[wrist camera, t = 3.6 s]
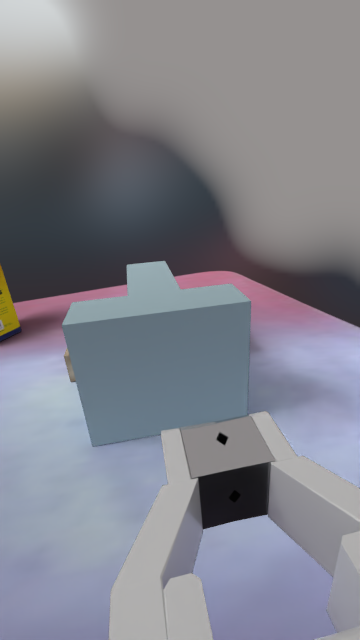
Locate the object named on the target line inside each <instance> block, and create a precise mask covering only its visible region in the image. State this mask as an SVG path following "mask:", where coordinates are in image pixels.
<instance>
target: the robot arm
mask: <svg viewBox="0 0 360 640" xmlns="http://www.w3.org/2000/svg"><path fill="white" fill-rule="evenodd" d="M161 439H162V446H163V453H164V460H165V466H166V473H167V480H168V484H167V485H162V487H161V489H160V491H159V493H158V495H157V497H156V499H155V501H154V503H153V505H152V507H151V509H150V511H149V513H148V515H147V518H146V520H145V522H144V524H143V526H142V528H141V530H140V532H139V534H138V536H137V538H136V540H135V542H134V544H133V546H132V548H131V550H130V552H129V554H128V556H127V558H126V560H125V562H124V564H123V566H122V568H121V570H120V572H119V574H118V577H117V579H116V581H115V583H114V585H113V587H112V589H111V595H110V619H109V640H213V636H212V631H211V627H210V622H209V617H208V612H207V607H206V602H205V597H204V592H203V587H202V582H201V579H200V578H198V577H197V576H195V575H194V574H193V573H192V572H193V568H194V564H195V561H196V557H197V553H198V549H199V545H200V542H201V538H202V534H203V529H207V528H210V527H214V526H218V525H222V524H225V523H229V522H233V521H237V520H242V519H247V518H252V517H257V516H262V515H267V514H268V517H269V518H270V519H271V520H272V521H273V522H275V523H276V524H277V525H278V526H279V527H280V528H281V529H282V530H283V531H284V532H285V533H286V534H287V535H288V536H289V537H291V538H292V539H293V540H294V541H295V542H296V543H297V544H298V545H299V546H300V547H301V548H302V549H303V550H304V551H306V552H307V553H308V554H309V555H310V556H311V557H312V558H313V559H314V560H315V561H316V562H317V563H318V564H319V565H321V566H322V567H323V568H324V569H325V570H326V571H327V572H328V573H329V574H330V575H331V576H332V577H333V582H332V586H331V591H330V595H329V600H328V605H327V609H326V611H327V613H328V615H329V617H330V619H331V621H332V623H333V625H334V628H335V630H336V632H337V633H335V634H331V635H328V636H324V637H321V638H318V639H314V640H360V488H358V487H357V486H355V485H353V484H351V483H350V482H348V481H346V480H344V479H343V478H341V477H339V476H337V475H336V474H334V473H332V472H331V471H329V470H327V469H325V468H324V467H322V466H320V465H318V464H317V463H315V462H313V461H311V460H310V459H308V458H306V457H304V456H299V457H297V455H296V454H295V452H294V451H293V449H292V448H291V446H290V444H289V443H288V441H287V440H286V438H285V437H284V435H283V434H282V432H281V431H280V429H279V428H278V426H277V425H276V423H275V422H274V420H273V419H272V417H271V416H270V414H269V413H268V412H266V411H263V412H258V413H253V414H249V415H244V416H239V417H234V418H229V419H224V420H219V421H214V422H209V423H203V424H197V425H191V426H185V427H180V428H176V429H169V430H163V431H161Z"/></svg>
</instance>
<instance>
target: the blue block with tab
mask: <svg viewBox="0 0 360 640" xmlns="http://www.w3.org/2000/svg"><path fill="white" fill-rule="evenodd" d="M127 289H128V296H123V297H115V298H106V299H98V300H89V301H81V302H72V304H71V306H70V308H69V311H68V313H67V315H66V317H65V319H64V321H63V324H62V328H63V332H64V336H65V340H66V344H67V348H68V352H69V356H70V360H71V364H72V367H73V371H74V375H75V379H76V383H77V387H78V391H79V395H80V399H81V403H82V407H83V411H84V415H85V418H86V422H87V426H88V430H89V434H90V438H91V442H92V446H93V447H94V446H100V445H105V444H111V443H117V442H122V441H128V440H133V439H139V438H145V437H150V436H156V435H161V431H163V430H169V429H176V428H180V427H185V426H191V425H197V424H203V423H209V422H214V421H219V420H224V419H229V418H234V417H239V416H244V415H247V412H248V381H249V350H250V320H251V301H250V300H249V299H248V298H247V297H246V296H245V295H244V294H243V293H241V292H240V291H239V290H238V289H237V288H236V287H235V286H234V285H232V284H224V285H216V286H207V287H199V288H190V289H182V290H181V289H180V287H179V286H178V284H177V282H176V280H175V278H174V277H173V275H172V273H171V271H170V269H169V268H168V266H167V264H166V262H165V261H160V262H151V263H141V264H131V265H127Z"/></svg>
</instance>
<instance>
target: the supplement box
mask: <svg viewBox="0 0 360 640" xmlns="http://www.w3.org/2000/svg"><path fill="white" fill-rule="evenodd" d="M19 332H21V327H20V324H19V321H18V318H17V315H16V311H15V308H14V305H13V302H12V299H11V296H10V293H9V290H8V287H7V284H6V281H5V278H4V275H3V271H2V268H1V265H0V341H2V340H4V339H6V338H9V337H11V336H13V335H15V334H17V333H19Z"/></svg>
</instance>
